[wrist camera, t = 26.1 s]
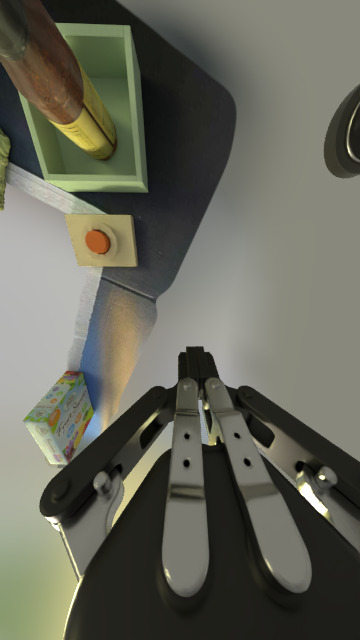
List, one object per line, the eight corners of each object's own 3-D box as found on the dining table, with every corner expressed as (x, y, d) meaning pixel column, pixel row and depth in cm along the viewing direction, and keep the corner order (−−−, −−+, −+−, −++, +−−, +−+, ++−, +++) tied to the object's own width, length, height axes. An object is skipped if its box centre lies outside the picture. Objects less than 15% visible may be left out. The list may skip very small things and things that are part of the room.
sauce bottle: (87, 95, 23) (-234, -432, 5) (126, 131, 24) (-10, -165, 7) (72, 146, 25) (-180, -88, 7) (109, 175, 27) (-24, 44, 9)
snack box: (64, 370, 47) (20, 420, 34) (83, 370, 48) (46, 421, 34) (79, 412, 57) (49, 465, 43) (95, 413, 57) (70, 466, 44)
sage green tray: (140, 73, 22) (129, 25, 17) (148, 192, 28) (142, 182, 23) (37, 70, 22) (-4, 20, 17) (68, 191, 28) (44, 180, 23)
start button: (107, 231, 28) (103, 230, 27) (111, 252, 30) (107, 253, 28) (87, 231, 28) (82, 230, 27) (92, 252, 30) (88, 253, 28)
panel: (133, 216, 30) (127, 213, 27) (138, 265, 34) (134, 267, 31) (70, 215, 30) (57, 212, 26) (83, 265, 34) (73, 267, 31)
